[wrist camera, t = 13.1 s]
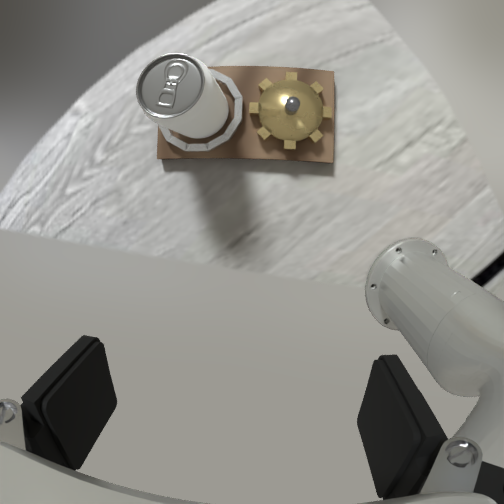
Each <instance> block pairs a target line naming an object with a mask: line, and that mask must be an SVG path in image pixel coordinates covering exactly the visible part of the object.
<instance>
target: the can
mask: <svg viewBox="0 0 504 504" xmlns="http://www.w3.org/2000/svg"><path fill="white" fill-rule="evenodd" d="M136 95H137V99H138V102H139V104H140V106H141V108H142V110H143V112H144V113H145V114H146V116H147V117H148V118H149V119H151V120H152V121H153V122H155V123H157V124H159V125H161V126H163V127H166V128H168V129H170V130H173V131H175V132H178V133H180V134H182V135H185V136H187V137H190V138H195V139H201V138H207V137H210V136H212V135H214V134H215V133H217V132H218V131H219V130H220V129H221V128H222V127H223V125H224V124H225V122H226V120H227V117H228V112H229V108H228V102H227V100H226V97H225V96H224V94H223V92H222V90H221V88H220V87H219V85H218V83H217V82H216V80H215V78H214V76H213V75H212V73H211V72H210V70H209V69H208V67H207V66H206V65H205V64H204V63H202V62H201V61H200V60H198V59H196V58H194V57H191V56H188V55H185V54H181V53H170V54H166V55H163V56H160V57H158V58H156V59H155V60H153V61H152V62H150V63H149V64H148V65H147V66H146V67H145V69H144V70H143V71H142V73H141V75H140V77H139V79H138V82H137V87H136Z"/></svg>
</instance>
